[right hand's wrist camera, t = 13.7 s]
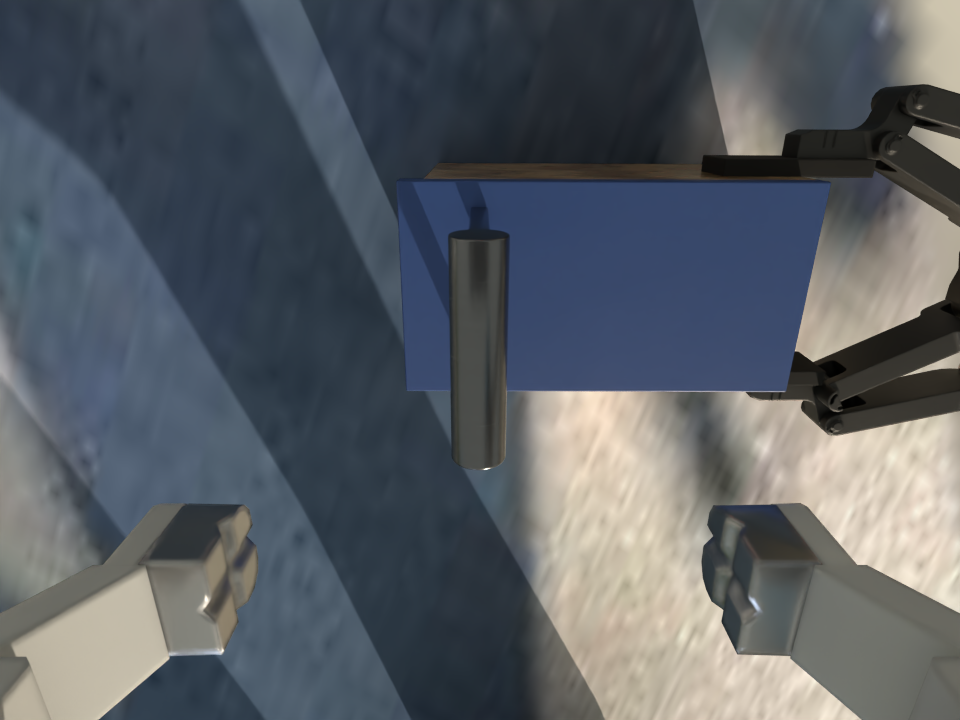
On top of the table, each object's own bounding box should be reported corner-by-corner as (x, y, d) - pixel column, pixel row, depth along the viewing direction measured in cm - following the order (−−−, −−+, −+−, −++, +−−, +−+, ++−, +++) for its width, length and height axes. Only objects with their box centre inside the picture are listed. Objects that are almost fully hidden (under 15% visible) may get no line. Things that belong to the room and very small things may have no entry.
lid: (408, 382, 28) (378, 492, 20) (399, 178, 24) (357, 208, 16) (776, 383, 28) (899, 494, 20) (818, 179, 25) (990, 210, 16)
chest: (441, 320, 36) (429, 382, 28) (437, 163, 33) (422, 178, 25) (707, 321, 36) (775, 382, 28) (731, 163, 33) (818, 179, 25)
